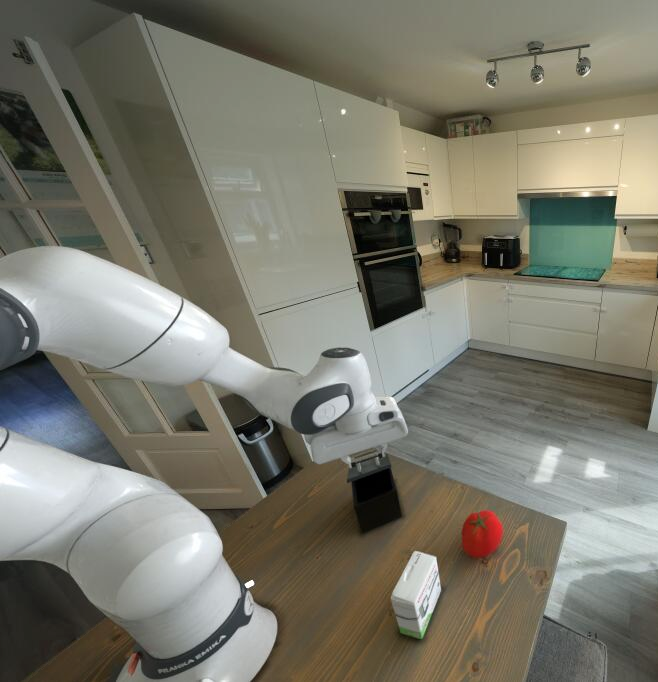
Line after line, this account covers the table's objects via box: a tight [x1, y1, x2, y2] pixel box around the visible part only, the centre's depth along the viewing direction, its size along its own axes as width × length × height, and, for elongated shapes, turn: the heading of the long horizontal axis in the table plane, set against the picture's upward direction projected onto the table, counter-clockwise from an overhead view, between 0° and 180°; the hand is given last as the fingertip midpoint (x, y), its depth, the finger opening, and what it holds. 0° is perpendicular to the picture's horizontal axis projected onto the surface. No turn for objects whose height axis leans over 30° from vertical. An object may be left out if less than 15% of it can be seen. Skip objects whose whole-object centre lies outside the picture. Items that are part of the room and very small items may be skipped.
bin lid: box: [346, 448, 392, 484], centre depth 78 cm, size 13×10×5 cm
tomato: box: [461, 509, 504, 559], centre depth 72 cm, size 9×10×8 cm
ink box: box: [390, 550, 442, 640], centre depth 60 cm, size 9×5×12 cm, turn 166°
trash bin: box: [350, 467, 403, 534], centre depth 81 cm, size 13×10×10 cm
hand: (367, 460), depth 75 cm, fingers closed on bin lid, 5 cm apart
